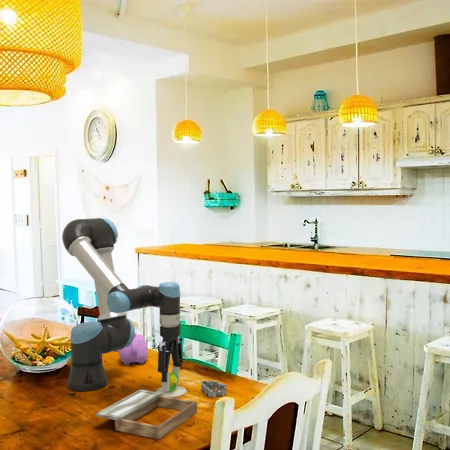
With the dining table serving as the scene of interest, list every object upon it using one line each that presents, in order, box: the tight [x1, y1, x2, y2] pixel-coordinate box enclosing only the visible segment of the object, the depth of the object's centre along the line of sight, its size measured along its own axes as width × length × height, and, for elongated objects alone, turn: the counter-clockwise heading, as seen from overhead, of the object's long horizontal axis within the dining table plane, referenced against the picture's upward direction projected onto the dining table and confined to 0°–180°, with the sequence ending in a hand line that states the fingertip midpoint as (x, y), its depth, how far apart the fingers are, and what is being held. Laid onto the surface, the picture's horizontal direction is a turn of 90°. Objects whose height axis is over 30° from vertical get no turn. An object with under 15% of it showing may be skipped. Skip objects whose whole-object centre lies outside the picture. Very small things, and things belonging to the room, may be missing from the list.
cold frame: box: [95, 389, 198, 440], centre depth 176 cm, size 23×24×4 cm
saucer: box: [155, 385, 187, 398], centre depth 201 cm, size 11×11×1 cm
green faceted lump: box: [160, 372, 178, 394], centre depth 200 cm, size 7×6×9 cm
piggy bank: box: [118, 332, 149, 366], centre depth 241 cm, size 20×12×13 cm, turn 14°
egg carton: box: [200, 379, 228, 399], centre depth 200 cm, size 11×8×4 cm
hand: (171, 387), depth 201 cm, fingers closed on green faceted lump, 6 cm apart
